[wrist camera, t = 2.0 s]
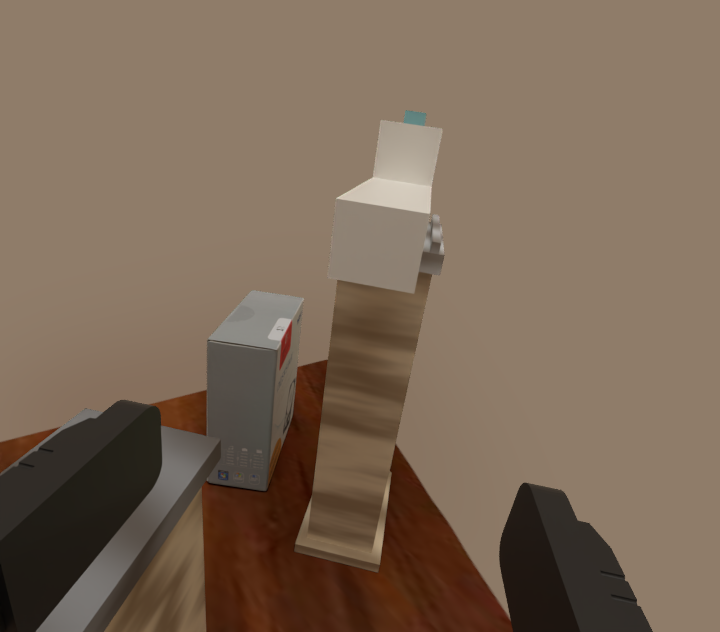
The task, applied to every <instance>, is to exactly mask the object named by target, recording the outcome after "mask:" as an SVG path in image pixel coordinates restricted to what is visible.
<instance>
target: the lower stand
mask: <svg viewBox="0 0 720 632" xmlns="http://www.w3.org/2000/svg"><path fill="white" fill-rule="evenodd" d="M102 413H103V412H99V411H95V410H91V409H84V410H83V411H81V412H80V413H79V414H77V415H76V416H75V417H74V418H73V419H71V420H70V421H68V422H67V423H66V424H64V425H63V426H62V427H60V428H59V429H58V430H56V431H55V432H54V433H53V434H51V435H50V436H49V437H47V438H46V439H45V440H43V441H42V442H41V443H39V444H38V445H37V446H36V447H34V448H33V449H32V450H30V451H29V452H28V453H26V454H25V455H24V456H22V457H21V458H20V459H18V460H17V461H16V462H15V463H13V464H12V465H11V466H9V467H8V468H7V469H5V470H4V471H3V472H1V473H0V476H1V475H2V474H4V473H5V472H6V471H8V470H9V469H10V468H12V467H13V466H15V467H17V466H18V464H19V462H20V461H21V460H23V459H24V458H25V457H27V456H28V455H29V454H31V453H32V452H33V451H38V449H39V447H40V446H41V445H43V444H44V443H45V442H47V441H48V440H49V439H51V438H52V437H53V436H55V435H56V434H57V433H59V432H60V431H61V430H63V429H66V428H68V427H70V426H72V425H75V424H77V423H79V422H81V421H84V420H86V419H88V418H95V419H96V418H97V417H98V416H99V415H101V414H102ZM161 439H162V468H161V472H160V475H159V477H158V480H157V482H156V484H155V486H154V487H153V489H152V490H151V491H150V493H149V494H148V495H147V496H146V498H145V499H144V500H143V501H142V502H141V504H140V505H139V506H138V507H137V509H136V510H135V511H134V512H133V513H132V515H131V516H130V517H129V518H128V520H127V521H126V522H125V523H124V524H123V526H122V527H121V528H120V529H119V531H118V532H117V533H116V534H115V535H114V537H113V538H112V539H111V540H110V541H109V543H108V544H107V545H106V546H105V548H104V549H103V550H102V551H101V552H100V554H99V555H98V556H97V557H96V559H95V560H94V561H93V562H92V563H91V565H90V566H89V567H88V568H87V570H86V571H85V572H84V573H83V574H82V576H81V577H80V578H79V579H78V581H77V582H76V583H75V584H74V585H73V587H72V588H71V589H70V590H69V592H68V593H67V594H66V595H65V596H64V598H63V599H62V600H61V601H60V603H59V604H58V605H57V606H56V607H55V609H54V610H53V611H52V612H51V613H50V615H49V616H48V617H47V618H46V620H45V621H44V622H43V623H42V624H41V626H40V627H39V628H38V629H37V631H36V632H206V610H205V580H204V550H203V520H202V490H201V487H202V485H203V484H204V482H205V481H206V480H207V478H208V477H209V475H210V474H211V472H212V471H213V469H214V468H215V466H216V465H217V463H218V462H219V460H220V459H221V439H218V438H213V437H209V436H204V435H200V434H196V433H191V432H187V431H183V430H178V429H174V428H170V427H165V426H161Z"/></svg>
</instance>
